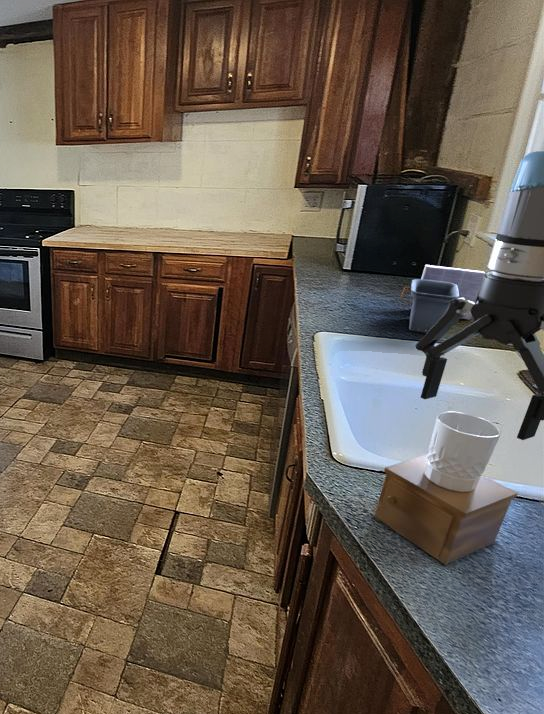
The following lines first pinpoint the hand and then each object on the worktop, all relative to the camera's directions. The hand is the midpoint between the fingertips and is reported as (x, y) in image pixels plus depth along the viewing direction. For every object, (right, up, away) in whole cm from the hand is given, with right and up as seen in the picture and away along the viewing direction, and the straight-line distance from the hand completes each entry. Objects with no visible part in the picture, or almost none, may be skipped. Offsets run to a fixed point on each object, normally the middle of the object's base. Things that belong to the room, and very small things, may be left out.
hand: (473, 415), depth 78 cm
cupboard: (0, -20, +8) cm, 21 cm away
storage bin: (+64, +20, +107) cm, 126 cm away
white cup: (0, -11, +5) cm, 12 cm away
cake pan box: (+81, +25, +120) cm, 147 cm away
